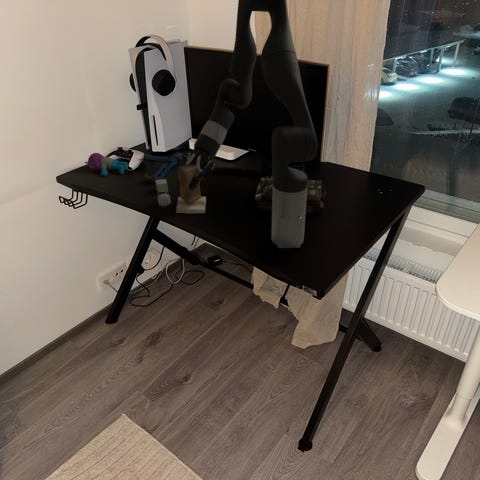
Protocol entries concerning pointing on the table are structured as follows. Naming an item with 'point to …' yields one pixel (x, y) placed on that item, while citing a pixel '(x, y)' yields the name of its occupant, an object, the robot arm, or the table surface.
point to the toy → (105, 164)
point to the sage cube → (161, 185)
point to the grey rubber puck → (164, 199)
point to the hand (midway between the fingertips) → (185, 186)
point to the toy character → (169, 164)
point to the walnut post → (185, 178)
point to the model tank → (313, 194)
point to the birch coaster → (191, 206)
